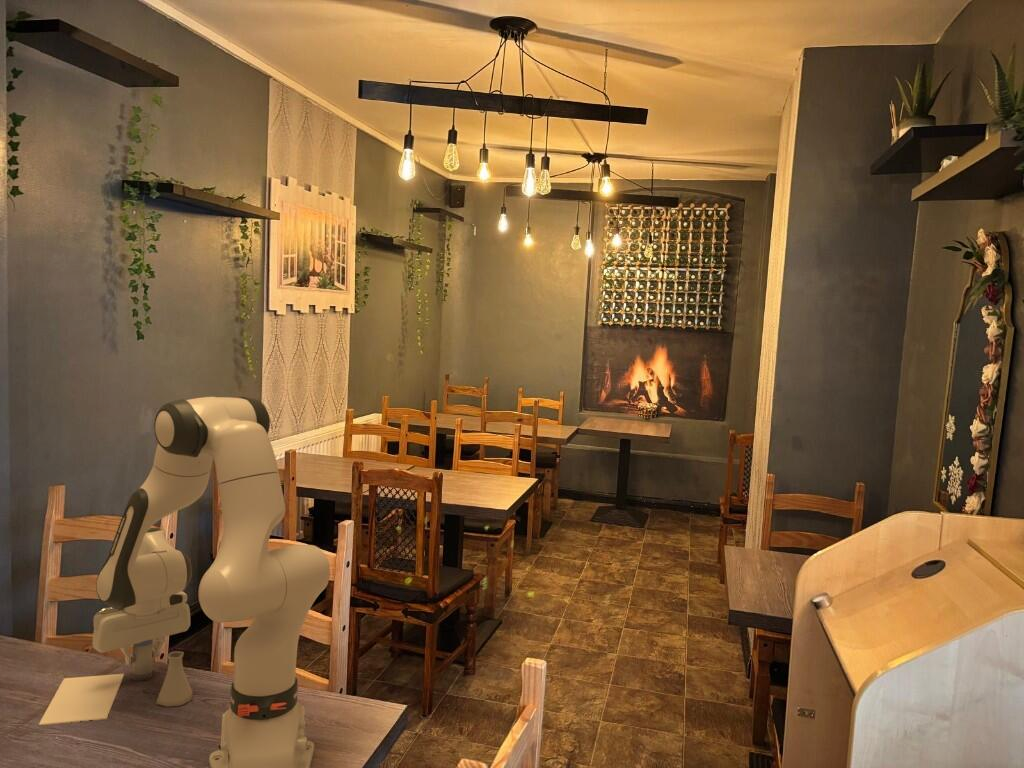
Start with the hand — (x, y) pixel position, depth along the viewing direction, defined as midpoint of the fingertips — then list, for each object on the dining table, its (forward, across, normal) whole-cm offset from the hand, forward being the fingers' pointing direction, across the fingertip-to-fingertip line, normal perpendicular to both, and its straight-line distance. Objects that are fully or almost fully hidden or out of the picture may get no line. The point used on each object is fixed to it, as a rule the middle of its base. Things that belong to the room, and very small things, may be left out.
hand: (142, 659), depth 173 cm
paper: (+4, -13, -2) cm, 13 cm away
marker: (+4, 0, 0) cm, 4 cm away
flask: (+4, +1, -14) cm, 15 cm away
